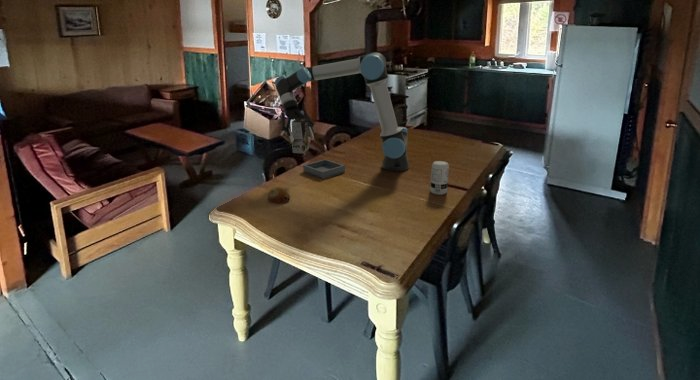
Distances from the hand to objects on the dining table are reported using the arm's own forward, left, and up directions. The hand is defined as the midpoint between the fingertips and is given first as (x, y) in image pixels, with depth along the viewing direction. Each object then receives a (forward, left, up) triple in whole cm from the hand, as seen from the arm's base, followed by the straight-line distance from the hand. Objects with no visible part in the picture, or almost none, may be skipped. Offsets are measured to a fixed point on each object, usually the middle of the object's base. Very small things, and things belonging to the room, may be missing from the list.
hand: (302, 139), depth 251 cm
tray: (+3, -16, -22) cm, 27 cm away
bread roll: (-13, +25, -22) cm, 36 cm away
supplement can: (-58, -37, -22) cm, 73 cm away
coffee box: (+3, -1, -7) cm, 7 cm away
